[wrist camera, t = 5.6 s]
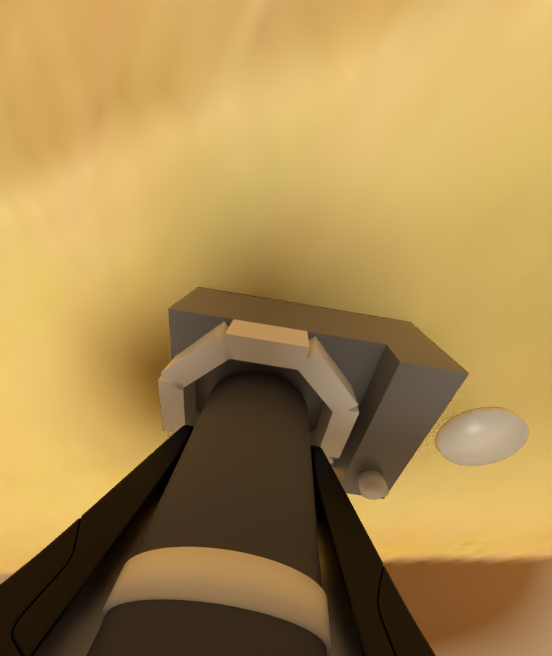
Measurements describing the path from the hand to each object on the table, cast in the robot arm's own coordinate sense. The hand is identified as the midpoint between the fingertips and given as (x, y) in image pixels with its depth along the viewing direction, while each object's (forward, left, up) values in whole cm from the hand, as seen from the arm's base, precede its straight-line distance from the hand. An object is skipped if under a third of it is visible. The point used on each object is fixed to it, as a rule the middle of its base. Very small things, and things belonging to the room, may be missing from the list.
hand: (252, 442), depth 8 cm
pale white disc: (-14, +3, -6) cm, 16 cm away
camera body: (-1, 0, -5) cm, 5 cm away
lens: (0, 0, -2) cm, 2 cm away
